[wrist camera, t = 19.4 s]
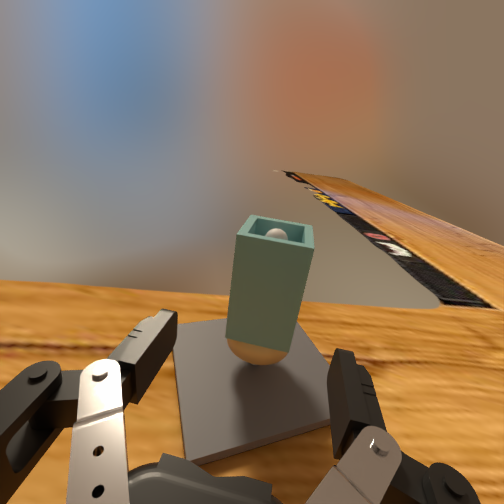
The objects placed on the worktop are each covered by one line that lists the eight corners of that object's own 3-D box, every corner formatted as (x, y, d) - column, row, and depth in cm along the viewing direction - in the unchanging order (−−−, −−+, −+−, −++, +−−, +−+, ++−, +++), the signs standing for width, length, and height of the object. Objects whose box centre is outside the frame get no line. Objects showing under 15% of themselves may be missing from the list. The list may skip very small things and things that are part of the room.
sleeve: (224, 337, 24) (236, 234, 20) (239, 302, 29) (251, 214, 25) (288, 352, 23) (314, 248, 19) (291, 313, 28) (312, 225, 24)
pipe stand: (186, 469, 19) (195, 281, 13) (170, 331, 32) (171, 201, 26) (358, 415, 25) (424, 266, 19) (287, 316, 38) (312, 207, 31)
